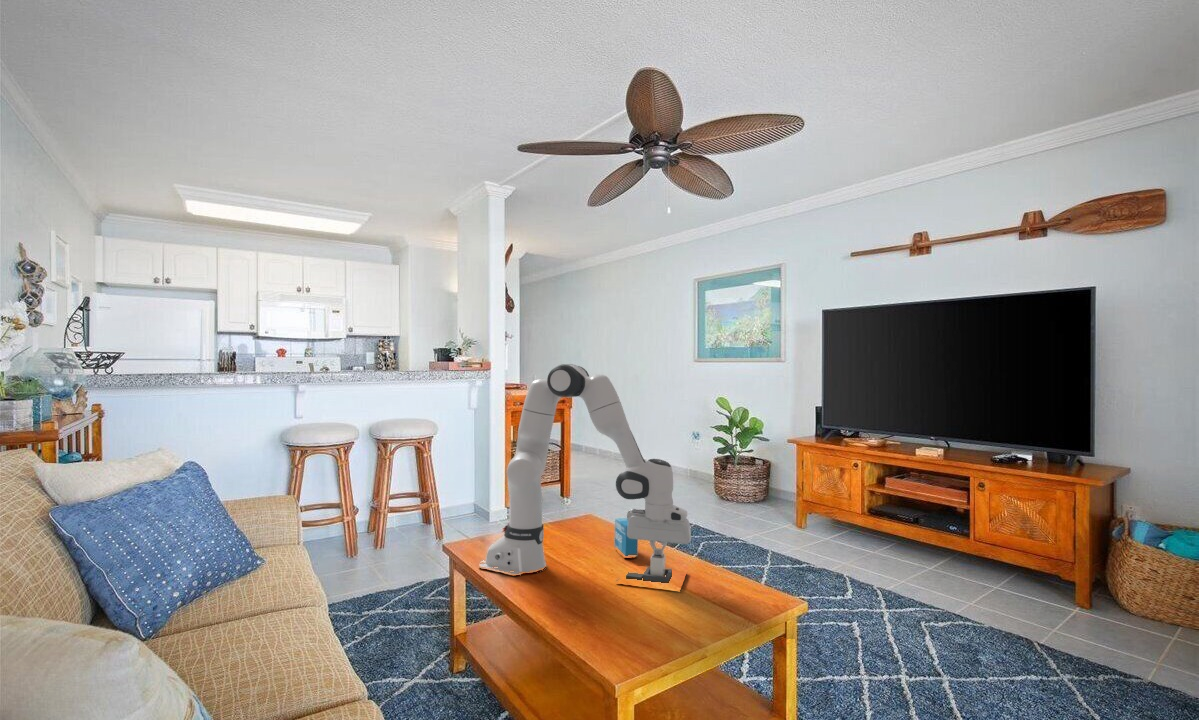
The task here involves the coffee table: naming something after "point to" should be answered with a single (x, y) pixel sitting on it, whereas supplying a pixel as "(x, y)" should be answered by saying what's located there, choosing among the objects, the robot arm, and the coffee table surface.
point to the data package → (624, 538)
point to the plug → (657, 565)
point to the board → (651, 576)
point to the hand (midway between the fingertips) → (658, 554)
